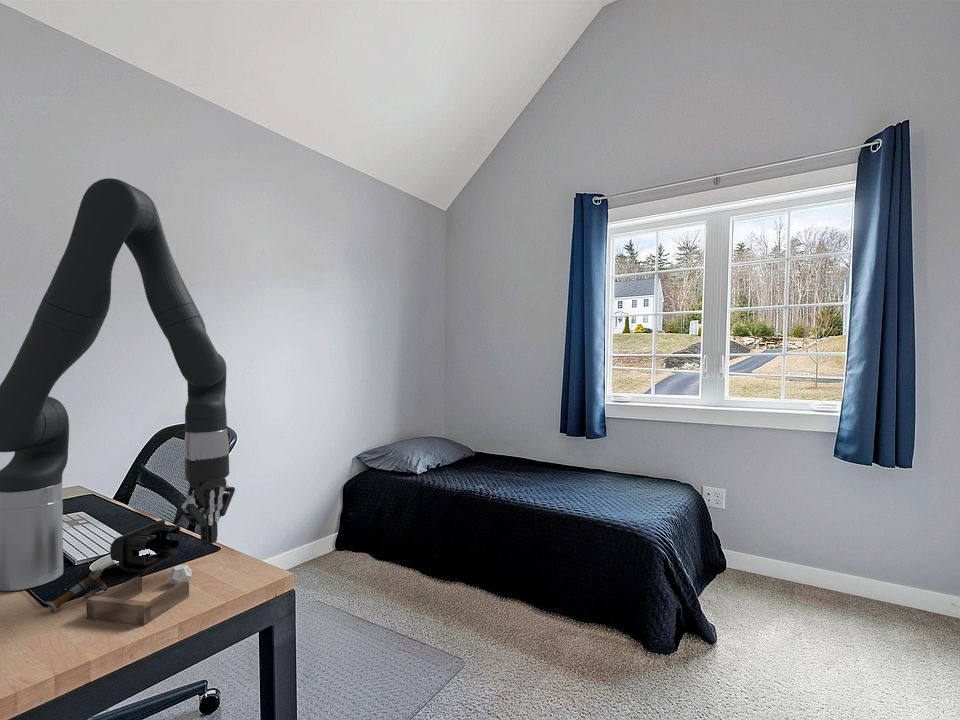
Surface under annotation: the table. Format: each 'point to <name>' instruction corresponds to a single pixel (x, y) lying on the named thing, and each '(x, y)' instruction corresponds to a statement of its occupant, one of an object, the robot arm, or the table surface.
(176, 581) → the game die
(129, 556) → the end cap
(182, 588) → the dice corral
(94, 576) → the wooden post with brackets
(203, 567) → the table surface
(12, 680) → the table surface
